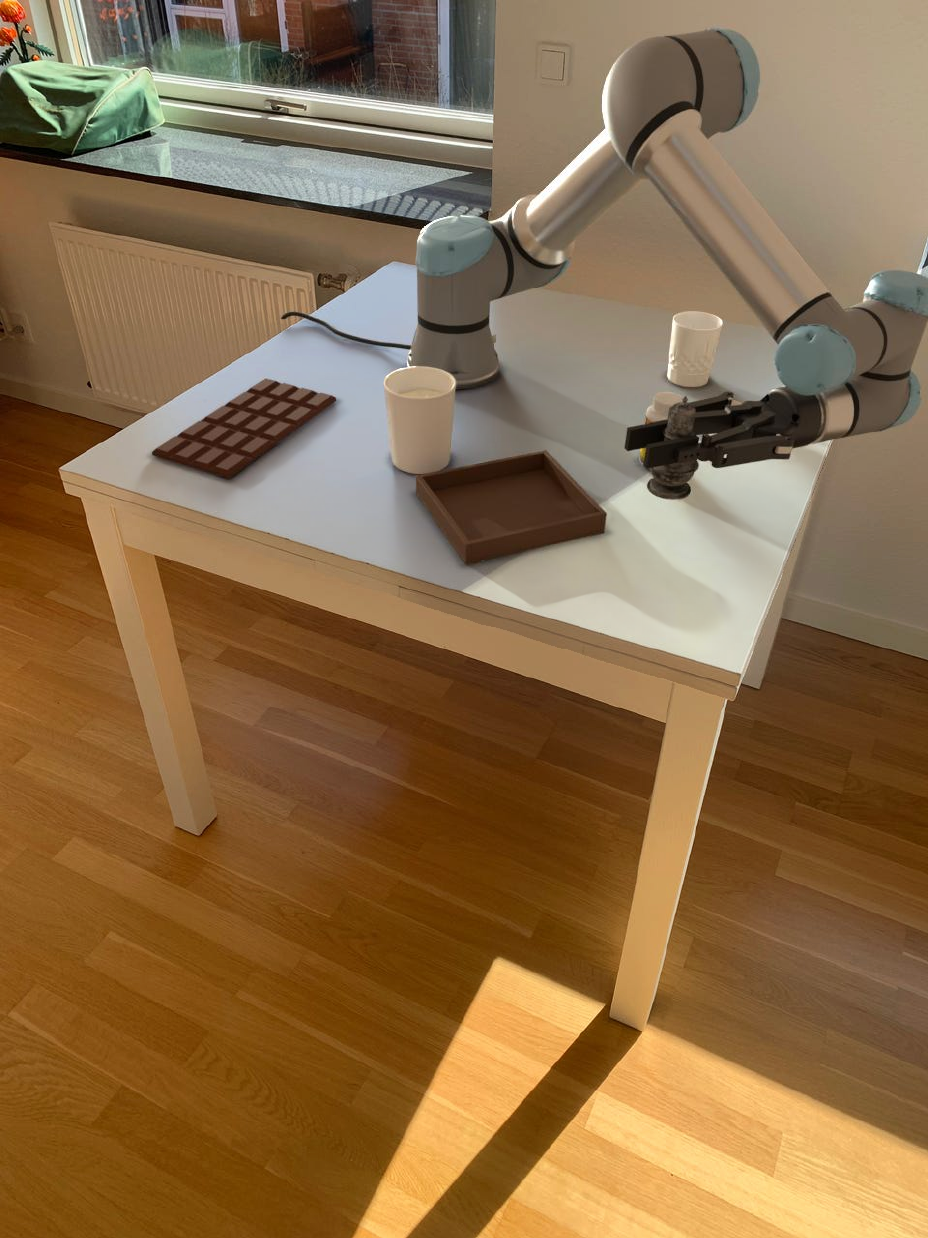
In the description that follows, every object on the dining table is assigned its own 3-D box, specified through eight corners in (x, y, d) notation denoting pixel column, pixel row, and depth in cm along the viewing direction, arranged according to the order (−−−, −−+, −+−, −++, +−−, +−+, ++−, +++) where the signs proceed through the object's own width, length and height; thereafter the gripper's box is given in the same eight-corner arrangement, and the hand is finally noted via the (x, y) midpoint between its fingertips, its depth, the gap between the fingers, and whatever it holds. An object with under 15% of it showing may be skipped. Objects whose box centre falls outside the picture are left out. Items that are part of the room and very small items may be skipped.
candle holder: (404, 483, 132) (402, 403, 125) (375, 451, 139) (372, 374, 132) (467, 467, 136) (469, 389, 129) (436, 437, 143) (436, 361, 135)
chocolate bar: (265, 382, 156) (265, 376, 155) (336, 400, 151) (335, 394, 151) (152, 455, 137) (151, 448, 136) (229, 478, 132) (228, 472, 132)
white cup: (658, 369, 163) (667, 311, 156) (704, 368, 163) (715, 310, 157) (670, 389, 157) (680, 330, 150) (717, 388, 157) (729, 329, 151)
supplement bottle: (633, 455, 140) (642, 389, 133) (669, 452, 141) (680, 387, 134) (645, 474, 136) (656, 408, 129) (683, 471, 136) (695, 405, 130)
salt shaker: (693, 503, 113) (712, 411, 106) (642, 497, 114) (658, 404, 107) (694, 478, 118) (712, 387, 110) (645, 472, 119) (660, 382, 111)
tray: (465, 564, 118) (465, 544, 116) (415, 494, 130) (415, 475, 129) (604, 532, 124) (607, 513, 122) (544, 468, 136) (546, 449, 135)
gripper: (840, 474, 114) (670, 513, 107) (756, 412, 126) (598, 443, 118) (858, 417, 109) (681, 453, 102) (768, 358, 121) (605, 386, 114)
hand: (637, 447), depth 110 cm, fingers closed on salt shaker, 4 cm apart
